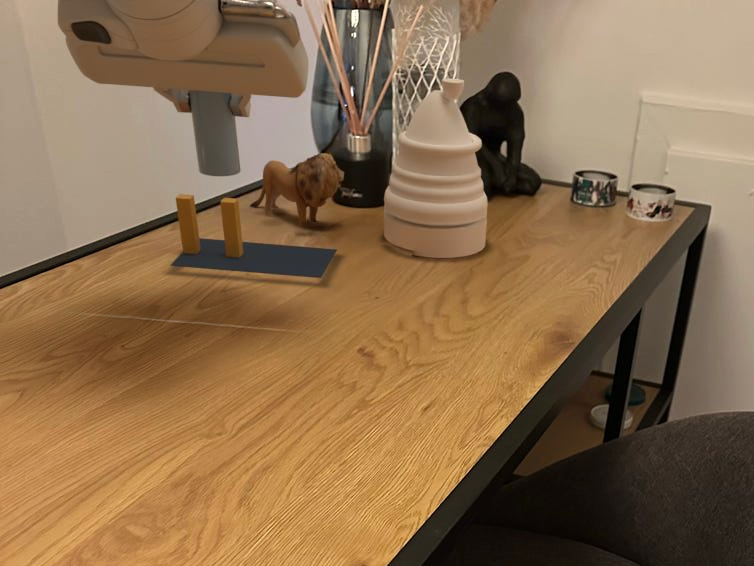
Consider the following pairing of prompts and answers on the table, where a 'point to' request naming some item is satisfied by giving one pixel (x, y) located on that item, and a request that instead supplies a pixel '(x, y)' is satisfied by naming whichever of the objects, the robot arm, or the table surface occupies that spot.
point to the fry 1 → (188, 223)
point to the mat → (260, 259)
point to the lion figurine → (301, 185)
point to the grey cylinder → (214, 133)
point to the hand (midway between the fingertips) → (214, 108)
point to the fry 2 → (231, 227)
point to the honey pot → (437, 182)
